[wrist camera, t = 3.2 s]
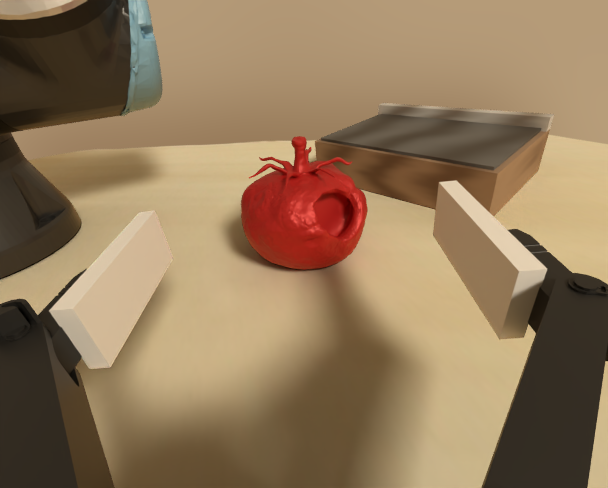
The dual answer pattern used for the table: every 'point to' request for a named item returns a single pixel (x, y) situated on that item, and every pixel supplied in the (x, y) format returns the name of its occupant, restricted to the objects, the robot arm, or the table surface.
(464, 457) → the table surface
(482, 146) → the tray
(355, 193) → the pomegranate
